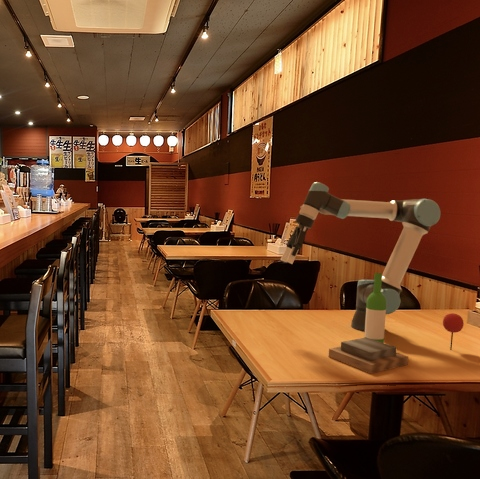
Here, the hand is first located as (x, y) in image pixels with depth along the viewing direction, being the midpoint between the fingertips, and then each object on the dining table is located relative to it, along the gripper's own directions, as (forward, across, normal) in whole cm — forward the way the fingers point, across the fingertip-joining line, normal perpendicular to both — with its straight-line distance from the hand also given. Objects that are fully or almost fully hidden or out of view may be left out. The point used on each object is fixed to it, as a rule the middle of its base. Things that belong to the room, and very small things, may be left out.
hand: (286, 262), depth 198 cm
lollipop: (+5, +14, +75) cm, 76 cm away
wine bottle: (+16, +10, +46) cm, 50 cm away
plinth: (+21, +29, +37) cm, 52 cm away
